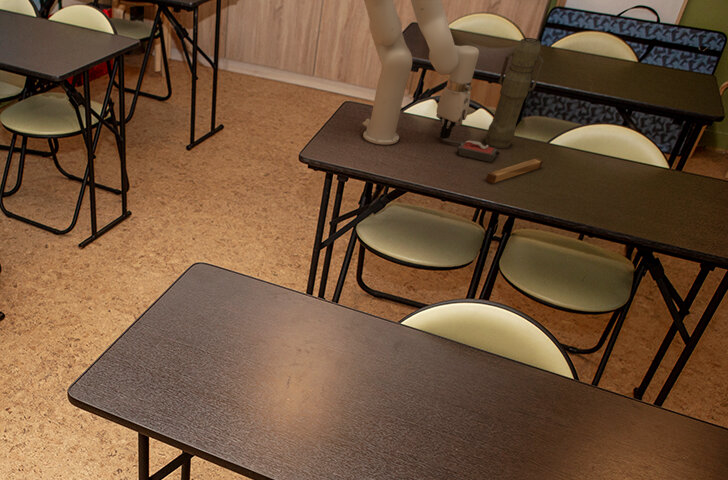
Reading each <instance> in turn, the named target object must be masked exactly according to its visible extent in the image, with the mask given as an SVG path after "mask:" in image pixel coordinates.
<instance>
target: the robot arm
mask: <svg viewBox="0 0 728 480" xmlns="http://www.w3.org/2000/svg"><path fill="white" fill-rule="evenodd" d="M363 1H364V5H365V9H366V13H367V16H368V19H369V21H368V22H369V23H368V25H369V31H370V35H371V38H372V40H373V44H374V47H375V50H376V53H377V56H378V59H379V62H380V64H381V69H380V73H379V76H378V77H379V78H378V80H377V85H376V88H375V89H376V90H375V95H374V99H373V106H372V110H371V115H370V118H366V119H365V121H363V122H362V126H364V127H366V130H364V131H363V134H362V137H363V139H364V140H365V141H367V142H369V143H372V144H374V145H375V144H376V145H381V146H384V145H385V146H387V145H394V144H396V143H398V141H399V139H400V136H399V134H398V133H397V129H398V123H399V118H400V114H401V111H402V106H403V101H404V97H405V93H406V87H407V84H408V80H409V77H410V74H411V72H412V68H413V54H412V53H411V50H410V49H409V47H408V45H407V43H406V40H405V37H404V33H403V31H402V29H403V28H402V22H401V18H400V16H399V14H398V11H397V8H396V4H395V1H394V0H363ZM410 2H411V5H412V9H413V13H414V16H415V20H416V23H417V25H418V27H419V30H420V32H421V34H422V35H423V37H424V39H425V41H426V44H427V47H428V49H429V53H428V60H429V62H430V64H431V66H432V67H433V69H434V70H435V72H436V73H437V74H438V75H441V76H448V77H447V78H448V79H447V83H446V86H444V88H443V90H442V91H441V95H440V97H439V100H438V103H437V107H436V115H435V116H436V118H437V119H438V120H439V121H440V126H441V129H440V133H439V138H440V139H441V140H443V139H449V138H450V136H451V133H452V129H453V128H455V127H462V126H463V121H466V119H467V118H468V113H469V109H470V102H471V92H470V91H472V89H473V86H472V85H471V84H472V81H473V77H474V74H475V70H476V66H477V63H478V60H479V56H480V50H479V49H478V48H477V47H475V46H474V45H473V46H472V45H456V44H455V41H454V37H453V33H452V31H451V28H450V25H449V22H448V18H447V15H446V10H445V8H444V5H443V1H442V0H410Z"/></svg>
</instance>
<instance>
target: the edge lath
mask: <svg viewBox="0 0 728 480" xmlns="http://www.w3.org/2000/svg"><path fill="white" fill-rule="evenodd" d="M543 162H544V160H542V159H541V158H538V157H535V158H533V159H530V160H525V161H522V162H520V163H517V164H514V165H510V166H508V167H504V168H502V169H498V170H494V171H492V172H488V173H487V175H486V178H485V182H488V183H490V184H495V183H498V182H501V181H504V180H508V179H511V178H514V177H516V176H520V175H522V174H526V173H529V172H531V171H535V170H538V169H540V168H541V167H542V165H543Z"/></svg>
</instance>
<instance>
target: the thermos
mask: <svg viewBox="0 0 728 480" xmlns="http://www.w3.org/2000/svg"><path fill="white" fill-rule="evenodd" d="M540 52H541V40H539V39H537V38H534V37H524V38H521V39H520V40H519V42H518V44H516V47H515V49H514V51H512V52H509V53H508V54H507V55H505V58H504V60H503V61H504V62H503V65H502V68H501V72H500V76H499V79H498V83H499V85H500V90H499V93H500V95H499V98H498V102H497V105H496V109H495V110H494V111H495V112H494V115H493V118H492V121H491V123H490V124H489V125H488V128H487V132H486V137H485V139H484V143H485V144H486V145H489V146H488V147H491V148H496V149H508V148H510V147H511V143H512V140H513V139H514V136H515V133H516V131H517V130H516V129H517V128H516V126H517V122H518V119H519V117H520V113H521V111H522V108H523V105H524V101H525V99H526V98H527V97H528V95H529V92H530V91H534V89H535V87H536V85H537V81H538V79H539V76H540V73H541V70H542V67H543V64H544V58H543V56H541V55H540ZM511 56H512V59H511V62H510V67H509V68H508V71H507V72H506V70H507V67H508V63H509V60H510V57H511ZM538 61H539V63H540V64H539V66H538V70H537V72H536V75H535V77H534V81H533V73H534V68H535V67H536V64H537V62H538ZM505 73H506V74H505ZM532 83H533V84H532Z"/></svg>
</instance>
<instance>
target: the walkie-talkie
mask: <svg viewBox="0 0 728 480" xmlns="http://www.w3.org/2000/svg"><path fill="white" fill-rule="evenodd" d="M441 140H442V142H445V143H448V144H455V145H457V146H458V147H457V153H458V156H460V157H465V158H470V159H474V160H478V161H484V162H487V163H493V161H494V159H495V157H496V156H500V155H501V154H500V153H501V152H500V151H498V148H495V147H491V146H489V145H487V144H486V145H483V144H482V143H481V142H480V141H475V140H470V139H469V140H466V141H457V140H454V139H453V140H452V139H449V138H446V139H441Z"/></svg>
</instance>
